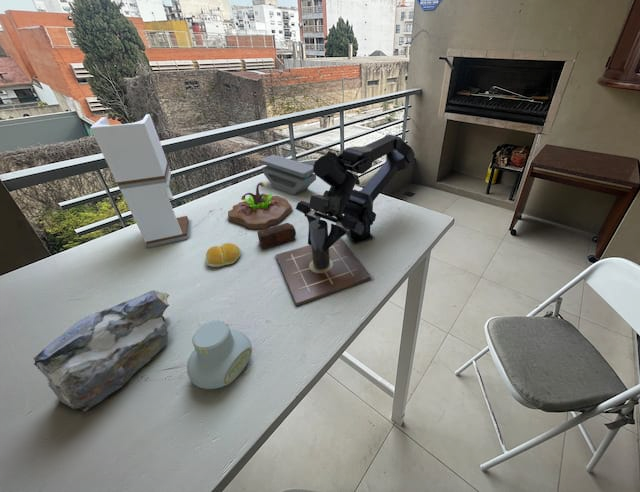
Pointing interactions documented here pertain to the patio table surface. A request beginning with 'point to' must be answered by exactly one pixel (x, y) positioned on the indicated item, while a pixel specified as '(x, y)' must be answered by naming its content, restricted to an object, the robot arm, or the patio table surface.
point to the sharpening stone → (287, 173)
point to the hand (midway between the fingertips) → (316, 247)
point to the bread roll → (222, 255)
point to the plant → (260, 210)
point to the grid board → (320, 272)
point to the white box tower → (142, 177)
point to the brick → (276, 235)
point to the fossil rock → (104, 350)
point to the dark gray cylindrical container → (319, 244)
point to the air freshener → (217, 355)
